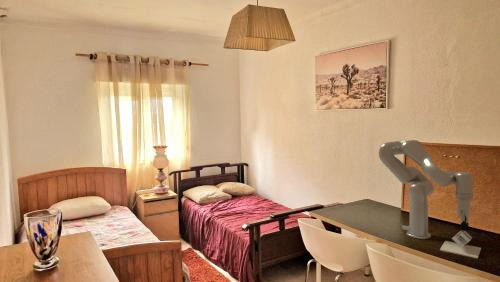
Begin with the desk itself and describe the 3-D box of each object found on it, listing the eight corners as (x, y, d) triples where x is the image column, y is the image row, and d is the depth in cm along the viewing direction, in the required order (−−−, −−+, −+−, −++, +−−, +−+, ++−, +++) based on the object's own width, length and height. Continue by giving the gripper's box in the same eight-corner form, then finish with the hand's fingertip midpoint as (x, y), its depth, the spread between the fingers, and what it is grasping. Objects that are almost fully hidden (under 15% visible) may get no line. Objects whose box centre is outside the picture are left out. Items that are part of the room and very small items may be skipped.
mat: (439, 250, 164) (439, 249, 164) (445, 241, 176) (445, 240, 176) (477, 258, 154) (477, 257, 154) (480, 248, 165) (480, 247, 165)
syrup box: (472, 237, 169) (470, 240, 158) (463, 244, 171) (460, 247, 160) (463, 229, 172) (460, 231, 161) (454, 235, 174) (451, 238, 163)
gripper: (458, 192, 175) (458, 225, 176) (453, 197, 164) (454, 232, 165) (474, 193, 171) (475, 227, 171) (470, 199, 159) (471, 235, 160)
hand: (464, 230), depth 168 cm, fingers closed
